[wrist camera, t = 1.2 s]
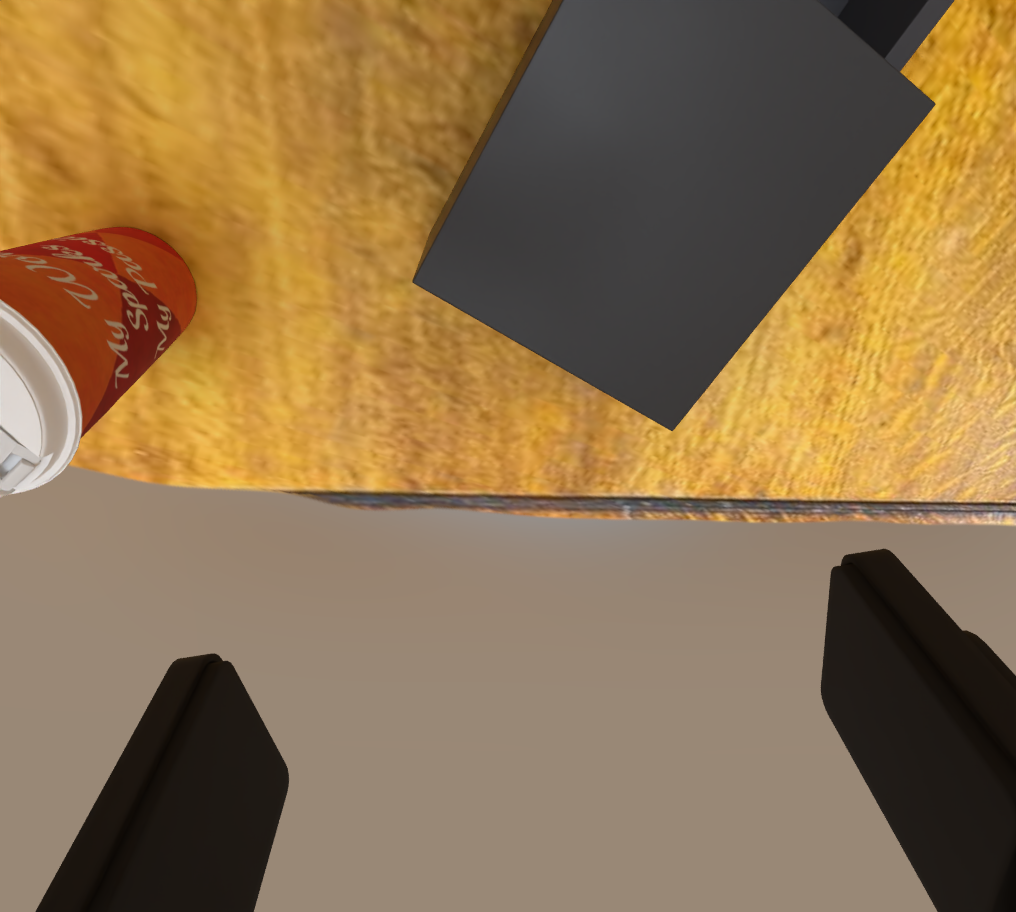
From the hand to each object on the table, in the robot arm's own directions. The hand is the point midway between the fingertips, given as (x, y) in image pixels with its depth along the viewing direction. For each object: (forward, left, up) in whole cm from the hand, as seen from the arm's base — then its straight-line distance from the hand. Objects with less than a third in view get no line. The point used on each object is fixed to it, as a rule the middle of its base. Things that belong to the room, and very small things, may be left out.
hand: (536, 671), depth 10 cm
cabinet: (-1, +7, -27) cm, 28 cm away
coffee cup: (-8, -17, -27) cm, 33 cm away
